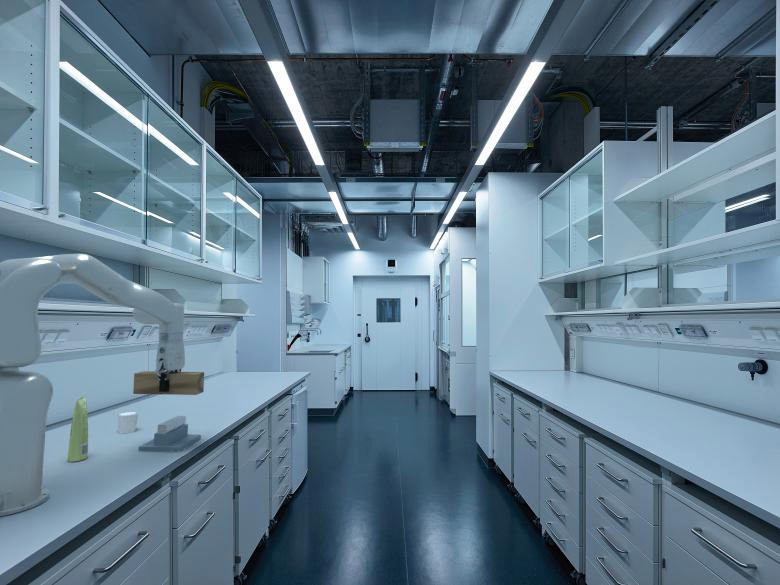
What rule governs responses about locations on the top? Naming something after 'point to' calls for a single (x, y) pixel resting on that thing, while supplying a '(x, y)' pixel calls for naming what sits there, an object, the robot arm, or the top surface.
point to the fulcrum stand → (171, 436)
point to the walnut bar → (177, 383)
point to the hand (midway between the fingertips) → (169, 389)
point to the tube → (79, 432)
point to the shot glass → (127, 422)
